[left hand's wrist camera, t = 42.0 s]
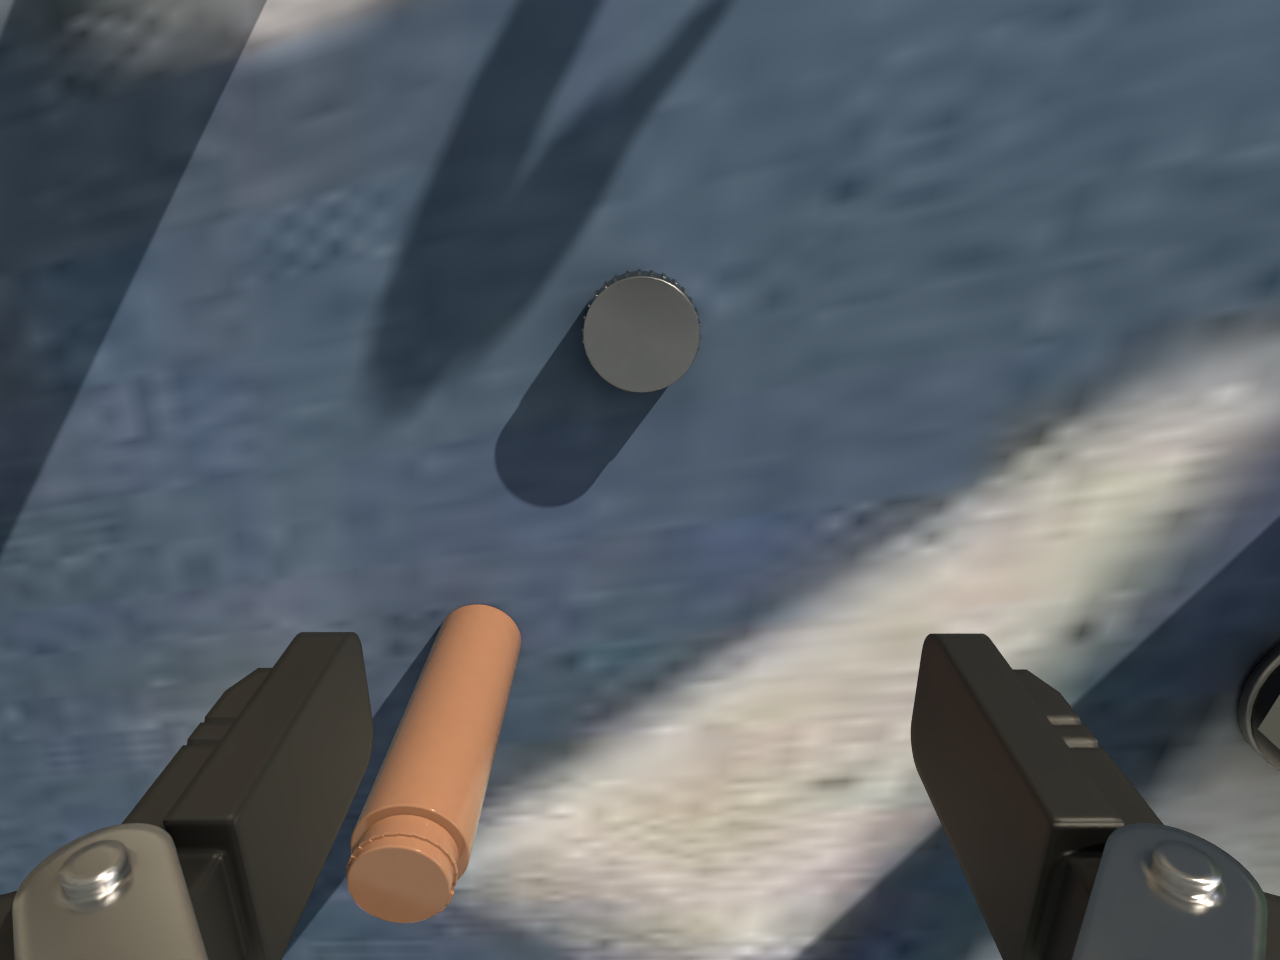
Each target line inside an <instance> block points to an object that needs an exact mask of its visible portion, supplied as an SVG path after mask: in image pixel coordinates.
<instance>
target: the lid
mask: <svg viewBox="0 0 1280 960" xmlns="http://www.w3.org/2000/svg"><path fill="white" fill-rule="evenodd" d="M594 296H595V297H594V298H593V300H592V301H591V300H590V301H589V304H588V307H589V309H588V311H587V312H585V314H584V317H583V319H585V321H584V324H583V327H582V331H583V340H582V343H584V348H585V351H586V355H587V357H588V359H589V361H590V363H591V365H592V366H593V368H594V369H595V370H596V372H597V373H598V374H599V375H600V376H601V377H602V378H603V379H604V380H606V381H607V382H609V383H610V384H612V385H613V386H615V387H617V388H620V389H623V390H626V391H630V392H638V393H644V392H653V391H657V390H660V389H663V388H665V387H668V386H669V385H671V384H673V383H674V382H676V381H677V380H678V379H680V378H681V377H682V376H683V375H684V374H685V373H686V371H687V370H688V369H689V368H690V366H691V364H692V363H693V362H694V359H695V356H696V354H697V351H698V350H699V348H698V347H699V341H700V339H701V335H700V328H699V327H701V324H700V321H699V319H698V318H697V315H698V312H697V309H696V308H694V307H693V300H692V298H691V297H688V295H687V294H686V291H685V288H684V287H682V288H681V287H680V286H679V285H678V284H676V281H675V280H674V279H673V280H671V279H669V278H667V277H665V274H663V273H662V275H660V274H657V273H653V270H650V272H647V271H641V269H638V271H635V272H628V271H626V274H622V275H620V276H618V277H617V275H615V276H614V279H612V280H610V281H609V282H608V283H607V282H604V285H603V287H602V288H601V289H600V290H599V291H598V290H597V291H596V292H595V295H594Z"/></svg>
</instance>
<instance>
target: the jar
mask: <svg viewBox="0 0 1280 960" xmlns="http://www.w3.org/2000/svg"><path fill="white" fill-rule="evenodd" d="M520 650H521V635H520V632H519V630H518V627H517V626H516V624H515V623H514V621H513V620H512V619H511V618H510V617H509V616H508V615H507V614H505V613H504V612H502V611H501V610H499V609H497V608H494V607H491V606H487V605H479V604H476V605H467V606H464V607H461V608H458V609H456V610H455V611H453V612H452V613H450V614H449V615H448V616H447V617H446V618H445V620H444V621H443V623H442V625H441V627H440V629H439V631H438V634H437V636H436V638H435V641H434V643H433V645H432V648H431V650H430V652H429V655H428V657H427V659H426V662H425V664H424V666H423V669H422V671H421V673H420V676H419V678H418V680H417V683H416V685H415V688H414V690H413V692H412V695H411V697H410V699H409V702H408V704H407V706H406V709H405V711H404V713H403V716H402V718H401V720H400V723H399V725H398V727H397V730H396V732H395V734H394V737H393V739H392V741H391V744H390V746H389V748H388V751H387V753H386V755H385V758H384V760H383V762H382V765H381V767H380V769H379V772H378V774H377V776H376V779H375V781H374V784H373V786H372V788H371V791H370V793H369V795H368V798H367V800H366V802H365V805H364V807H363V809H362V812H361V814H360V816H359V819H358V821H357V823H356V826H355V828H354V830H353V833H352V836H351V843H350V844H351V853H352V854H351V857H350V859H349V862H348V864H347V877H346V879H347V886H348V890H349V892H350V895H351V897H352V898H353V900H354V901H355V902H356V904H357V905H358V906H359V907H361V908H362V909H363V910H364V911H366V912H367V913H369V914H370V915H372V916H374V917H376V918H379V919H382V920H385V921H389V922H395V923H413V922H418V921H422V920H425V919H428V918H431V917H433V916H434V915H436V914H438V913H439V912H442V911H443V910H444V908H445V907H446V906H447V905H449V903H450V901H451V899H452V897H453V894H454V891H453V889H454V887H455V885H456V883H457V880H458V879H459V878H460V877H461V876H462V875H463V874H464V872H465V870H466V868H467V866H468V863H469V859H470V855H471V851H472V847H473V843H474V839H475V835H476V831H477V827H478V822H479V818H480V814H481V810H482V806H483V802H484V798H485V794H486V790H487V786H488V781H489V777H490V773H491V769H492V765H493V761H494V757H495V753H496V749H497V744H498V740H499V736H500V732H501V728H502V724H503V720H504V716H505V712H506V708H507V703H508V699H509V695H510V691H511V687H512V683H513V679H514V675H515V671H516V666H517V662H518V658H519V654H520Z"/></svg>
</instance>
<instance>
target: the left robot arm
mask: <svg viewBox="0 0 1280 960" xmlns="http://www.w3.org/2000/svg"><path fill="white" fill-rule="evenodd" d="M1238 718H1239V724H1240V728H1241V731H1242V733H1243V735H1244V737H1245V739H1246V740H1247V742H1248V743H1249V744H1250V746H1251V747H1252V748H1253V749H1254V750H1255V751H1256V752H1257V753H1258V754H1260V755H1261V756H1262V757H1263V758H1264V759H1265V760H1266V761H1267V762H1269V763H1270V764H1272V765H1273V766H1275V767H1276V768H1277V769H1278V770H1279V771H1280V644H1279V645H1277V646H1276V647H1275V648H1274V649H1273V650H1271V651H1270V652H1269V653H1268V654H1267V655H1266V656H1265V657H1264V658H1263V659H1262V660H1261V661H1260V663H1259V664H1258V665H1257V666H1256V668H1255V669H1254V670H1253V672H1252V673H1251V675H1250V676H1249V678H1248V680H1247V682H1246V684H1245V686H1244V688H1243V691H1242V694H1241V697H1240V701H1239V708H1238ZM372 744H373V720H372V713H371V706H370V699H369V693H368V686H367V679H366V672H365V665H364V658H363V651H362V646H361V642H360V639H359V637H358V635H357V634H356V633H354V632H302V633H299V634H298V635H296V637H295V638H294V639H293V640H292V642H291V643H290V645H289V646H288V647H287V649H286V650H285V651H284V653H283V654H282V656H281V657H280V658H279V660H278V661H277V663H276V664H275V665H274V667H273V668H258V669H256V670H255V671H253V672H252V673H250V674H249V675H248V676H246V677H245V678H243V679H242V680H240V681H239V682H237V683H236V684H235V685H233V686H232V687H230V688H229V689H227V690H226V691H225V692H224V693H223V695H222V696H221V697H220V699H219V700H218V701H217V702H216V704H215V705H214V706H213V708H212V709H211V710H210V711H209V713H208V714H207V715H206V716H205V721H204V723H200V724H199V725H198V727H197V728H196V729H195V731H194V732H193V733H192V734H191V736H190V737H189V738H188V742H187V745H183V746H182V747H181V749H180V750H179V751H178V752H177V754H176V755H175V756H174V757H173V759H172V760H171V761H170V763H169V764H168V765H167V766H166V768H165V769H164V770H163V772H162V773H161V774H160V775H159V777H158V778H157V779H156V781H155V782H154V783H153V784H152V786H151V787H150V788H149V790H148V791H147V792H146V793H145V795H144V796H143V797H142V799H141V800H140V801H139V802H138V804H137V805H136V806H135V807H134V809H133V810H132V811H131V813H130V814H129V815H128V816H127V818H126V819H125V820H124V822H123V823H122V824H120V825H115V826H110V827H106V828H103V829H100V830H97V831H94V832H91V833H89V834H86V835H84V836H82V837H80V838H77V839H75V840H73V841H72V842H70V843H68V844H66V845H64V846H63V847H61V848H60V849H58V850H57V851H55V852H54V853H52V854H51V855H49V856H48V857H47V858H46V859H44V860H43V861H42V862H41V863H40V864H39V865H38V866H37V867H36V868H34V869H33V870H32V871H31V872H30V874H29V875H28V876H27V877H26V879H25V880H24V881H23V882H22V884H21V886H20V887H19V889H18V891H15V892H11V893H7V894H3V895H0V960H281V959H282V957H283V955H284V953H285V950H286V948H287V946H288V944H289V942H290V939H291V937H292V935H293V933H294V930H295V928H296V926H297V924H298V921H299V919H300V917H301V915H302V913H303V910H304V908H305V906H306V904H307V901H308V899H309V897H310V895H311V892H312V890H313V888H314V886H315V884H316V881H317V879H318V877H319V875H320V872H321V870H322V868H323V866H324V863H325V861H326V859H327V857H328V855H329V852H330V850H331V848H332V846H333V843H334V841H335V839H336V837H337V834H338V832H339V830H340V828H341V826H342V823H343V821H344V819H345V817H346V814H347V812H348V810H349V808H350V805H351V803H352V801H353V799H354V797H355V794H356V792H357V790H358V788H359V785H360V783H361V781H362V779H363V776H364V774H365V772H366V770H367V767H368V764H369V761H370V756H371V751H372ZM911 745H912V752H913V758H914V762H915V765H916V768H917V771H918V773H919V776H920V778H921V780H922V782H923V784H924V787H925V789H926V791H927V793H928V795H929V798H930V800H931V802H932V804H933V806H934V809H935V811H936V813H937V815H938V817H939V820H940V822H941V824H942V826H943V828H944V831H945V833H946V835H947V837H948V839H949V842H950V844H951V846H952V848H953V851H954V853H955V855H956V857H957V859H958V862H959V864H960V866H961V868H962V870H963V873H964V875H965V877H966V879H967V881H968V884H969V886H970V888H971V890H972V892H973V895H974V897H975V899H976V901H977V903H978V906H979V908H980V910H981V912H982V914H983V917H984V919H985V921H986V923H987V925H988V928H989V930H990V932H991V934H992V936H993V939H994V941H995V943H996V945H997V947H998V950H999V952H1000V954H1001V956H1002V958H1003V960H1280V896H1276V895H1272V894H1269V893H1265V892H1263V891H1262V889H1261V887H1260V886H1259V884H1258V882H1257V881H1256V880H1255V879H1254V877H1253V876H1252V875H1251V874H1250V872H1249V871H1248V870H1247V869H1245V868H1244V867H1243V866H1242V865H1241V864H1240V863H1239V862H1238V861H1237V860H1236V859H1234V858H1233V857H1232V856H1231V855H1229V854H1228V853H1226V852H1225V851H1223V850H1222V849H1220V848H1219V847H1217V846H1216V845H1214V844H1212V843H1210V842H1208V841H1207V840H1205V839H1203V838H1200V837H1198V836H1196V835H1194V834H1191V833H1189V832H1186V831H1183V830H1180V829H1177V828H1174V827H1170V826H1165V825H1163V823H1162V822H1161V821H1160V819H1159V818H1158V817H1157V816H1156V814H1155V813H1154V812H1153V811H1152V809H1151V808H1150V807H1149V805H1148V804H1147V803H1146V802H1145V800H1144V799H1143V798H1142V797H1141V795H1140V794H1139V793H1138V791H1137V790H1136V789H1135V788H1134V786H1133V785H1132V784H1131V783H1130V781H1129V780H1128V779H1127V778H1126V776H1125V775H1124V774H1123V772H1122V771H1121V770H1120V769H1119V767H1118V766H1117V765H1116V764H1115V762H1114V761H1113V760H1112V758H1111V757H1110V756H1109V755H1108V753H1107V752H1106V751H1105V750H1104V748H1103V747H1099V746H1098V741H1097V739H1096V738H1095V737H1094V736H1093V734H1092V733H1091V732H1090V731H1089V729H1088V728H1087V727H1086V725H1081V719H1080V718H1079V717H1078V715H1077V714H1076V713H1075V711H1074V710H1073V709H1072V708H1071V706H1070V705H1069V704H1068V703H1067V701H1066V700H1065V699H1064V697H1063V696H1062V695H1061V694H1060V692H1058V691H1057V690H1055V689H1054V688H1052V687H1051V686H1049V685H1048V684H1047V683H1045V682H1044V681H1042V680H1041V679H1039V678H1038V677H1036V676H1035V675H1034V674H1032V673H1031V672H1029V671H1028V670H1012V668H1011V667H1010V666H1009V664H1008V663H1007V661H1006V660H1005V659H1004V657H1003V656H1002V655H1001V653H1000V652H999V651H998V649H997V648H996V646H995V645H994V644H993V642H992V641H991V640H990V638H989V637H988V636H986V635H985V634H929V635H928V636H927V637H926V639H925V641H924V644H923V648H922V654H921V661H920V668H919V675H918V681H917V688H916V695H915V702H914V708H913V715H912V722H911Z"/></svg>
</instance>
